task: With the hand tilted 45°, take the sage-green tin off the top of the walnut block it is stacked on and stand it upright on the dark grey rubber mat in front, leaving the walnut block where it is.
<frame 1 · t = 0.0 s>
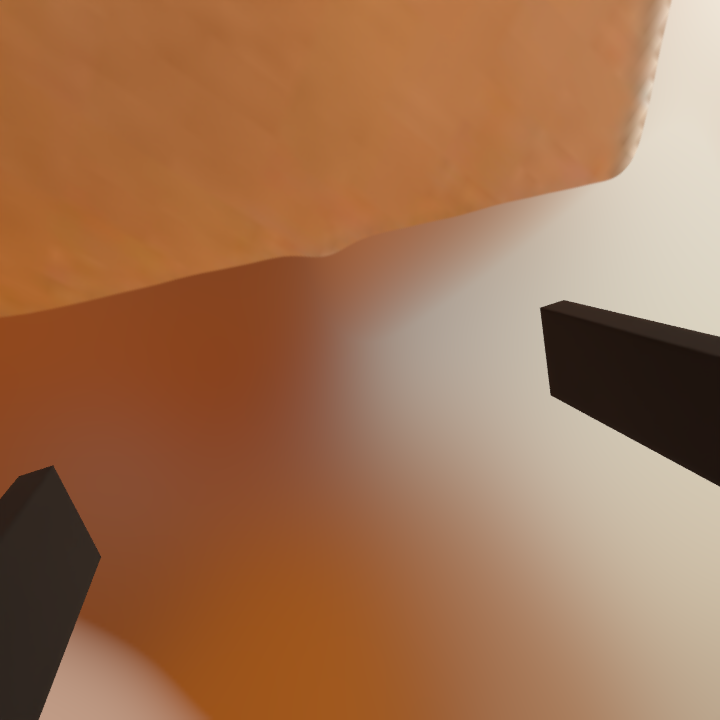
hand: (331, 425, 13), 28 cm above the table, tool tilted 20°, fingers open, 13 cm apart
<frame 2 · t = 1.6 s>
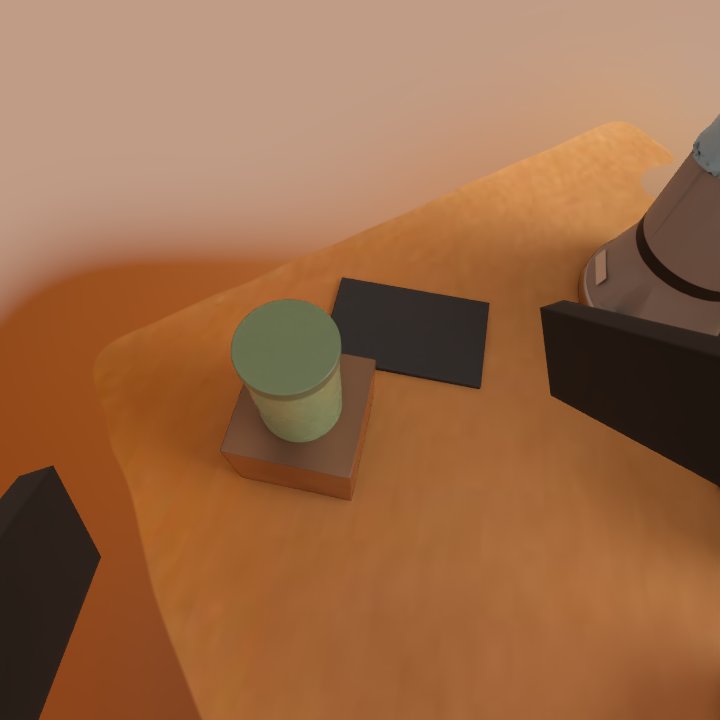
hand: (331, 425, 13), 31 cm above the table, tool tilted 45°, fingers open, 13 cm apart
rubber mat: (406, 331, 50), on the table
green tin: (301, 403, 38), point 8 cm above the table, touching walnut block
walnut block: (310, 435, 45), on the table, touching green tin
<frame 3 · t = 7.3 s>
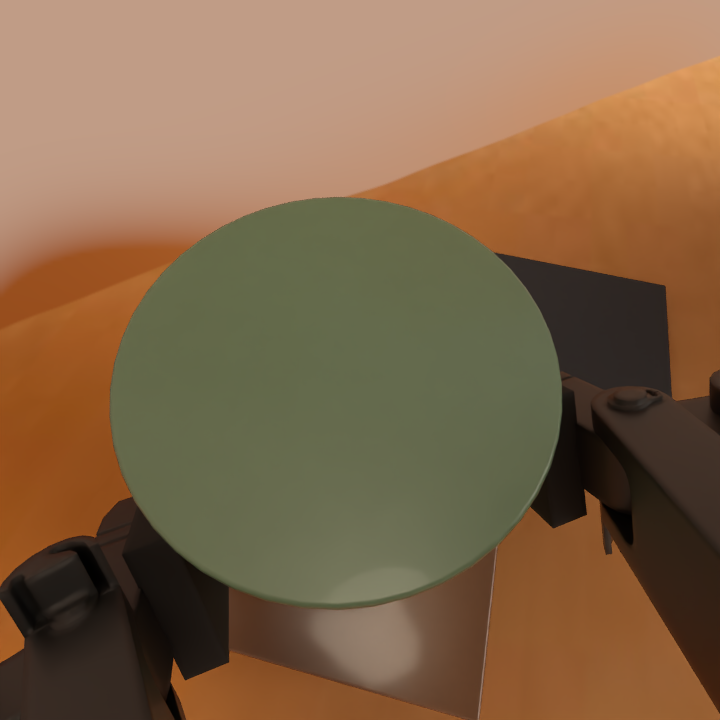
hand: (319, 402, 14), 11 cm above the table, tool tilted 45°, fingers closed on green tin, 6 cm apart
rubber mat: (521, 331, 28), on the table
green tin: (346, 494, 16), point 8 cm above the table, touching gripper, walnut block
walnut block: (348, 530, 23), on the table, touching green tin
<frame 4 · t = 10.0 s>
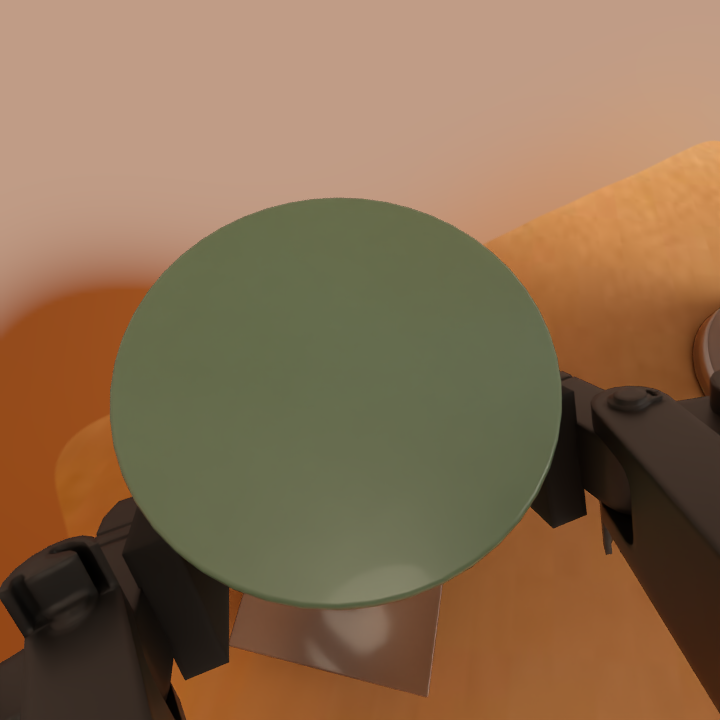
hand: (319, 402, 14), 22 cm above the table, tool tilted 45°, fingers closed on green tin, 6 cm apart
green tin: (346, 494, 16), point 20 cm above the table, touching gripper
walnut block: (349, 573, 33), on the table
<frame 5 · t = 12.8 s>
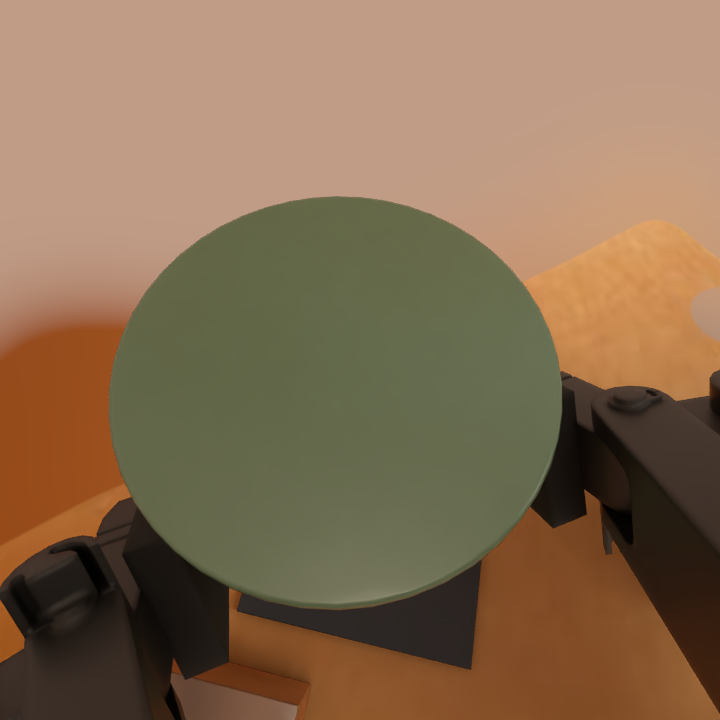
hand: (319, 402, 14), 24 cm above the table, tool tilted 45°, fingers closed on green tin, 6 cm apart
rubber mat: (366, 561, 35), on the table
green tin: (346, 494, 16), point 22 cm above the table, touching gripper
when the fingers open (3 cm above the table, at t = 17.6 s): green tin stays where it is, resting on rubber mat.
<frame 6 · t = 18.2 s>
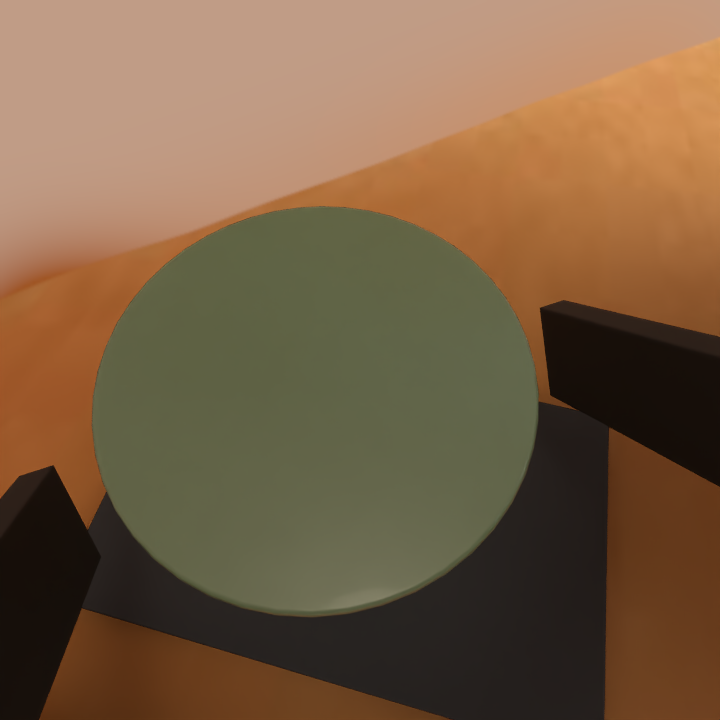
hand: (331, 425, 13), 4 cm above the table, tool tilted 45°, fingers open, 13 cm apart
rubber mat: (356, 503, 16), on the table
green tin: (337, 497, 16), resting on rubber mat
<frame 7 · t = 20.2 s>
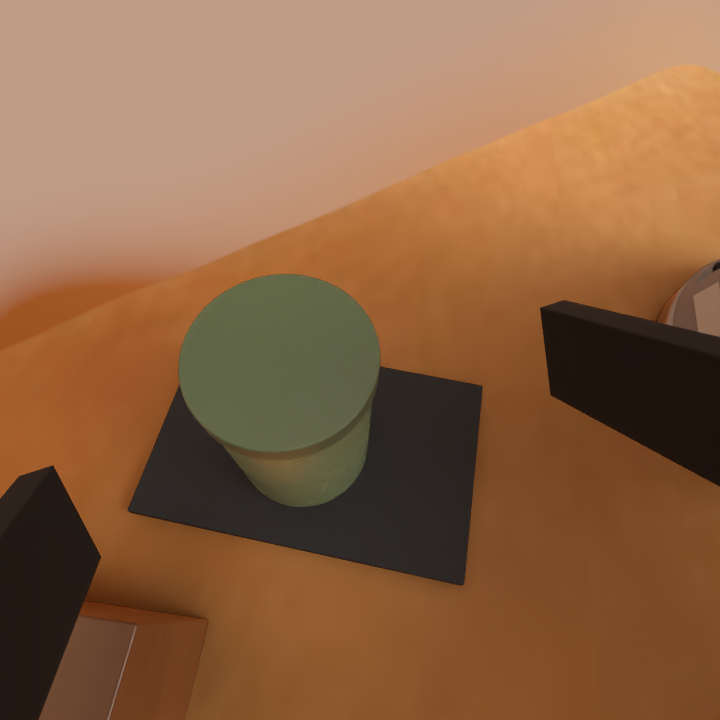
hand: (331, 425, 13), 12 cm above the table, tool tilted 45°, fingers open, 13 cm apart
rubber mat: (317, 446, 25), on the table
green tin: (304, 442, 25), resting on rubber mat
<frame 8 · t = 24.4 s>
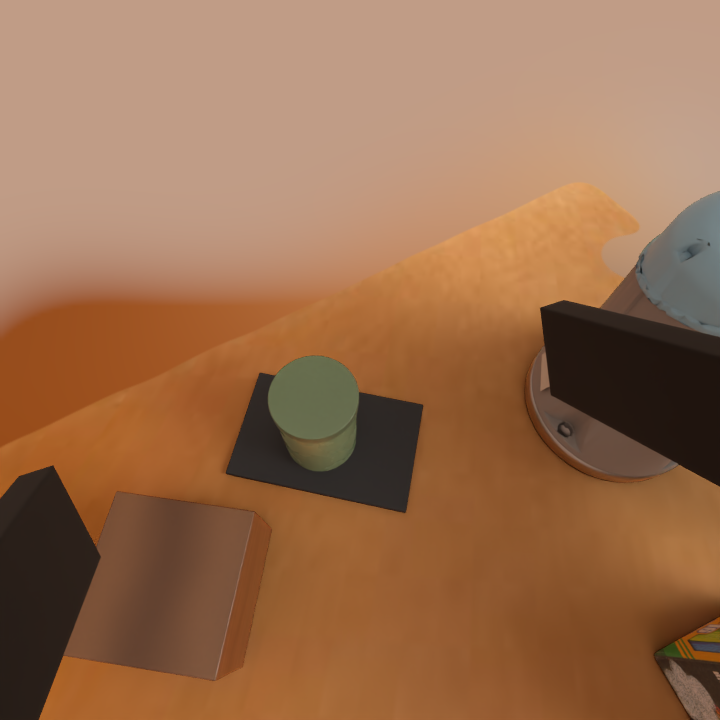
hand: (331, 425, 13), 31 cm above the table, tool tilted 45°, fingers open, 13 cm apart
rubber mat: (328, 439, 44), on the table
green tin: (321, 436, 44), resting on rubber mat
walnut block: (197, 584, 39), on the table
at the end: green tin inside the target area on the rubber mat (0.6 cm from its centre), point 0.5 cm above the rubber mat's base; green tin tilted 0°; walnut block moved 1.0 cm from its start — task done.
